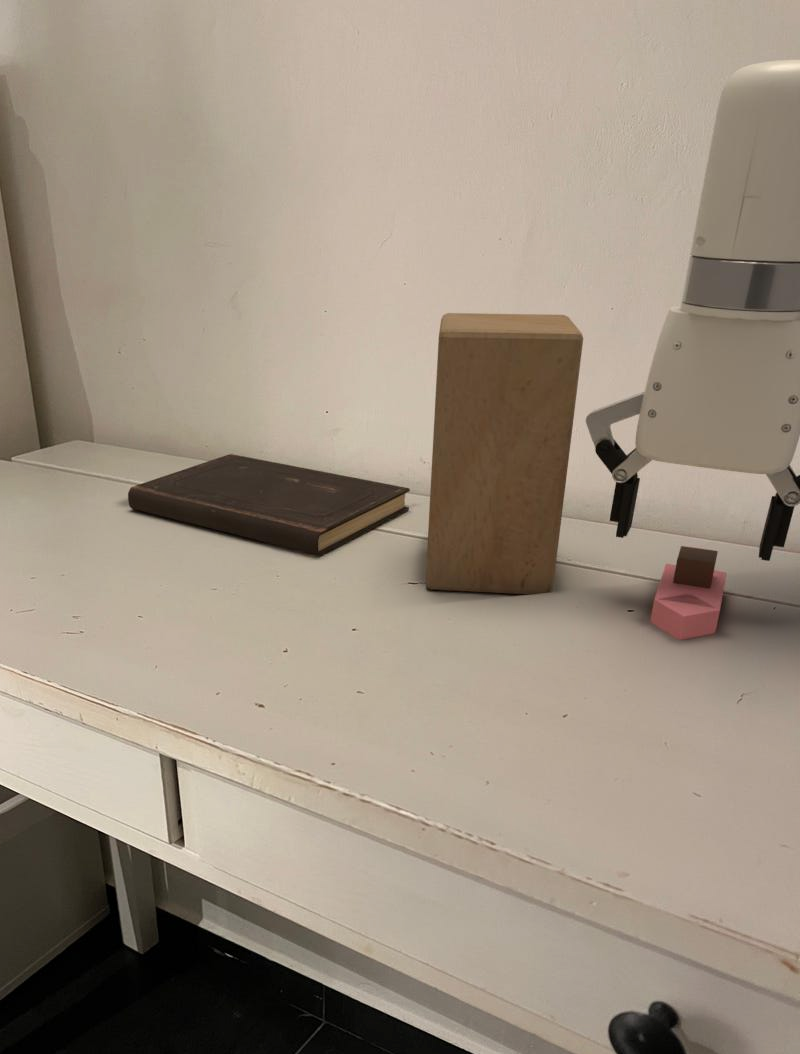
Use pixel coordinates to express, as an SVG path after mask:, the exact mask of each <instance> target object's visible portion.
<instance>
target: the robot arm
mask: <svg viewBox="0 0 800 1054" xmlns="http://www.w3.org/2000/svg"><path fill="white" fill-rule="evenodd" d="M719 96H720V97H719V100H718V105H717V109H716V114H715V119H714V126H713V130H712V136H711V139H710V140H711V142H710V146H709V151H708V156H707V163H706V168H705V173H704V178H703V184H702V189H701V193H700V198H699V199H700V200H699V205H698V211H697V216H696V221H695V227H694V233H693V238H692V243H691V248H690V254H689V255H690V256H689V257H688V265H687V270H686V275H685V281H684V285H683V291H682V296H681V302H680V305H677V306H676V305H675V306H670V307H669V309H668V312H667V314H666V316H665V319H664V322H663V324H662V327H661V331H660V334H659V336H658V339H657V343H656V346H655V350H654V353H653V356H652V361H651V364H650V368H649V372H648V375H647V380H646V384H645V388H644V391H642V392H639V393H637V394H634V395H632V396H629V397H625V398H623V399H621V400H618V401H615V402H612V403H609V404H607V405H605V406H601V407H599V408H597V409H593V410H592V411H590V412H589V413H588V414H587V416H586V418H585V424H586V427H587V429H588V433H589V436H590V438H591V441H592V443H593V445H594V451H595V453H596V456H597V457H598V458H599V459H600V461H601V462H602V463H603V465H604V466H605V468H607V470H608V471H609V472H610V474H611V476H612V480H613V481H614V482H615V485H614V491H613V496H612V497H613V498H612V502H611V504H612V505H611V509H610V514H609V522H614V523H617V526H616V532H615V538H620V539H621V538H622V539H624V537H627V536H628V534H629V532H630V530H631V528H632V524H633V519H634V515H635V508H636V503H637V498H638V492H639V487H640V481H641V478H640V477H639V476H638V475H639V474H638V472H639V471H641V470H642V469H643V468H644V467H646V466H647V465H648V464H649V463H651V462H652V461H655V462H661V463H666V464H674V465H681V466H688V467H689V466H690V467H697V468H704V469H713V470H721V471H728V472H737V473H745V474H755V475H766V477H767V478H768V480H769V482H770V483H771V485H772V487H773V488H774V490H775V491H776V492H775V495H771V499H770V502H769V506H768V511H767V514H766V519H765V523H764V527H763V529H762V535H761V539H760V543H759V548H758V558H761V559H760V560H761V561H766V562H770V561H771V557H772V553H773V550H774V547H777V548H784V547H785V545H786V542H787V541H786V540H787V537H788V533H789V529H790V526H791V522H792V517H793V514H794V510H795V507H796V506H798V505H800V474H798V475H797V474H796V473H795V470H794V469H793V468H792V466H791V463H792V461H793V459H794V456H795V453H796V449H797V448H798V447H797V446H798V443H799V440H800V59H781V60H780V59H779V60H770V61H769V60H768V61H764V62H757V63H751V64H748V65H746V66H743V67H741V68H739V69H737V70H736V71H735V72H734V73H732V74H731V75H730V76H729V78H728V79H727V80H726V82H725V83H724V86H723V87H722V89H721V93H720V95H719ZM637 415H638V418H637V419H638V420H637V426H636V432H635V441H634V442H635V447H634V448H633V449H632V450H631V451H629V452H628V453H627V454H626V452H625V451H624V450H623V449H622V448H621V446H620V444H619V443H618V442H617V441H616V439H614V436H613V431H612V429H611V427H612V425H613V424H615V423H618V422H621V421H624V420H626V419H627V420H628V419H629V418H632V417H635V416H637Z"/></svg>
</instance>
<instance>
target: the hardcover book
mask: <svg viewBox="0 0 800 1054" xmlns="http://www.w3.org/2000/svg"><path fill="white" fill-rule="evenodd" d="M410 491H411V490H410V487H405V486H399V485H394V484H389V483H384V482H378V481H373V480H368V479H365V478H358V477H353V476H348V475H344V474H343V475H342V474H338V473H333V472H327V471H322V470H317V469H312V468H306V467H300V466H295V465H291V464H285V463H280V462H275V461H269V460H264V459H259V458H253V457H248V456H244V455H238V454H234V453H229V454H226V455H223V456H219V457H217V458H214V459H211V460H208V461H205V462H201V463H199V464H196V465H193V466H190V467H187V468H185V469H181V470H179V471H175V472H172V473H169V474H167V475H163V476H161V477H158V478H155V479H152V480H149V481H145V482H143V483H140V484H136V485H133V486H131V487H130V488H129V490H128V493H127V500H128V506H129V507H130V509H132V510H134V511H139V512H143V513H148V514H151V515H154V516H159V517H162V518H166V519H171V520H175V521H179V522H183V523H187V524H191V525H195V526H200V527H203V528H207V529H211V530H214V531H219V532H223V533H226V534H227V533H228V534H232V535H235V536H239V537H243V538H247V539H251V540H256V541H259V542H263V543H267V544H271V545H275V546H279V547H282V548H286V549H291V550H295V551H298V552H303V553H307V554H311V555H315V556H319V557H321V556H324V555H326V554H327V553H329V552H331V551H333V550H335V549H337V548H339V547H341V546H342V545H345V544H347V543H348V542H350V541H353V540H354V539H357V538H358V537H360V536H362V535H363V534H365V533H367V532H369V531H371V530H374V529H375V528H377V527H379V526H381V525H382V524H384V523H387V522H388V521H390V520H393V519H394V518H396V517H398V516H400V515H402V514H405V513H406V512H407V511H409V510H410V507H409V506H405V505H406V502H405V501H406V500H405V499H406V494H408V493H409V492H410Z"/></svg>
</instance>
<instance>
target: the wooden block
mask: <svg viewBox="0 0 800 1054" xmlns="http://www.w3.org/2000/svg"><path fill="white" fill-rule="evenodd" d="M437 345H438V346H437V362H436V363H437V364H436V378H435V379H436V380H435V397H434V398H435V401H434V419H433V435H432V436H433V437H432V453H431V471H430V491H429V493H430V494H429V509H428V510H429V511H428V513H429V514H428V528H427V529H428V531H427V549H426V551H427V552H426V565H425V566H426V567H425V581H424V582H425V585H426V588H427V589H430V590H437V591H439V590H440V591H457V592H458V591H459V592H474V593H475V592H476V593H477V592H480V593H496V594H497V593H498V594H515V595H516V594H517V595H541V594H551V593H552V592H553V591H554V583H555V575H556V566H557V557H558V551H559V542H560V533H561V526H562V517H563V510H564V501H565V492H566V484H567V478H568V477H567V475H568V469H569V468H568V467H569V460H570V451H571V444H572V443H571V442H572V434H573V428H574V419H575V411H576V402H577V393H578V386H579V379H580V377H579V376H580V370H581V369H580V368H581V362H582V361H581V360H582V352H583V345H584V335H583V333H582V332H581V331H580V329H579V328H578V327H577V325H576V324H575V323H574V322H573V321H572V319H571V318H570V317H569V316H567V315H566V314H541V313H540V314H538V313H535V314H534V313H531V314H530V313H472V312H471V313H468V312H466V313H465V312H460V313H459V312H447V313H445V314H442V316H441V319H440V323H439V331H438V343H437Z"/></svg>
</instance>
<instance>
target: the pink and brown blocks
mask: <svg viewBox="0 0 800 1054" xmlns="http://www.w3.org/2000/svg"><path fill="white" fill-rule="evenodd" d="M718 552H719V551H718V550H713V549H706V548H699V547H693V546H685V545H681V546H680V549H679V552H678V555H677V559H676V563H675V564H672V563H666V564H665V565H664V569H663V572H662V575H661V578H660V581H659V584H658V586H657V590H656V593H655V595H654V598H653V604H652V609H651V615H650V621H649V622H650V623H651V624H652V625H654V626H655V627H657V628H659V629H660V630H662V631H664V632H665V633H667V634H669V635H670V636H671V637H674V638H675V639H677V640H678V641H681V640H687V639H692V638H697V637H703V636H708V635H714V634H716V632H717V626H718V622H719V617H720V613H721V607H722V602H723V595H724V589H725V583H726V578H727V572H726V571H718V570H715V568H716V562H717V557H718V554H719V553H718Z"/></svg>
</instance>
